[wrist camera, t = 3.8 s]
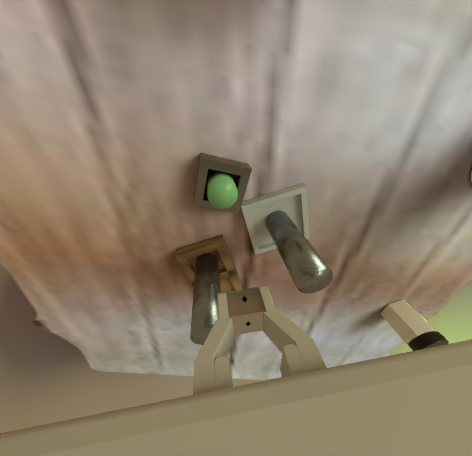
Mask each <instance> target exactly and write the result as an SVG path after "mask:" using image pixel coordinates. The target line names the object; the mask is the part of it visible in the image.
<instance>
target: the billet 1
mask: <svg viewBox="0 0 472 456" xmlns="http://www.w3.org/2000/svg"><path fill="white" fill-rule="evenodd" d="M218 293H221V284H220V272H219V261H218V258H217V257H216V256H215V255H214V254H211V253H204V254H201V255H200V256H198V257H197V259H196V263H195V277H194V292H193V307H192V322H191V336H190V338H191V340H192V341H193V342H194V343H196V344H201V345H203V344H204V342H205V341H206V339H207V337H208V335H209V333H210V331H211V329H212V327H213V326H214V324H215V322H216V320H219V311H218Z"/></svg>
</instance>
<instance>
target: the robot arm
mask: <svg viewBox="0 0 472 456" xmlns="http://www.w3.org/2000/svg"><path fill="white" fill-rule="evenodd" d="M471 182H472V171H471ZM218 311H219V320H216V322H215V324H214V326H213V327H212V329H211V331H210V333H209V335H208V337H207V339H206V341H205V342H204V344H203V346H202V348H201V350H200V352H199V354H198V355H197V357H196V359H195V363H194V385H193V395H190V396H185V397H180V398H175V399H170V400H165V401H160V402H155V403H150V404H145V405H140V406H135V407H130V408H125V409H120V410H114V411H109V412H104V413H100V414H95V415H89V416H84V417H79V418H75V419H69V420H64V421H60V422H54V423H49V424H44V425H39V426H34V427H29V428H24V429H19V430H14V431H9V432H4V433H0V456H472V340H467V341H462V342H457V343H452V344H447V345H442V346H437V347H431V348H426V349H421V350H416V351H412V352H406V353H401V354H396V355H391V356H386V357H381V358H376V359H371V360H366V361H361V362H356V363H351V364H346V365H341V366H336V367H331V368H326V366H325V364H324V361H323V359H322V357H321V355H320V353H319V351H318V349H317V346H316V344H315V342H314V340H313V339H312V338H311V337H310V336H309V335H307V334H306V333H305V332H304V331H303V330H302V329H300V328H299V327H298V326H297V325H296V324H295V323H293V322H292V321H291V320H290V319H289V318H288V317H286V316H285V315H284V314H283V313H282V312H281V311H279V310H276V309H275V306H274V303H273V300H272V298H271V295H270V292H269V289H268V287H267V286H261V287H254V288H248V289H242V290H237V291H230V292H223V293H218ZM256 331H263V332H264V333H265V334H266V335H267V336H268V337H269V339H270V340H271V341H272V342H273V343H274V344H275V346H276V347H277V348H278V349H279V350H280V351H281V353H282V360H281V366H280V371H281V374H282V377H280V378H275V379H270V380H265V381H260V382H255V383H251V384H245V385H241V386H235V387H233V384H232V376H231V371H230V365H229V360H228V358H227V355H228V353H229V350H230V347H231V344H232V342H233V339H234V335H239V334H244V333H249V332H256Z"/></svg>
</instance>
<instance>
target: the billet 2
mask: <svg viewBox="0 0 472 456" xmlns="http://www.w3.org/2000/svg"><path fill="white" fill-rule="evenodd" d="M265 226H266V228H267V230H268V232H269V234H270V236H271V238H272V240H273V242H274V243H275V245H276V247H277V249H278V251H279V253H280V255H281V257H282V259H283V261H284V263H285V265H286V267H287V269H288V271H289V273H290V275H291V277H292V279H293V281H294V283H295V285H296V287H297V289H298V290H299V291H300V292H302V293H314V292H317V291H320V290H322V289H323V288H325V287H326V286H327V285H328V284H329V283H330V282H331V280H332V278H333V274H332V271H331V270H330V269H329V268H328V266H327V265H326V264H325V262H324V261H323V260H322V259H321V257H320V256H319V255H318V253H317V252H316V251H315V249H314V248H313V247H312V246H311V244H310V243H309V242H308V240H307V239H306V238H305V237H304V235H303V234H302V233H301V231H300V230H299V229H298V227H297V226H296V225H295V224H294V222H293V221H292V220H291V218H290V217H289V216H288V215H287V213H286V212H284V211H274V212H272V213H270V214H269V215H268V216H267V218H266V220H265Z"/></svg>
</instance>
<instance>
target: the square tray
mask: <svg viewBox="0 0 472 456" xmlns="http://www.w3.org/2000/svg"><path fill="white" fill-rule="evenodd" d="M241 209H242V212H243V216H244V219H245V222H246V226H247V229H248V232H249V236H250V239H251V243H252V246H253V249H254V252H255V255H257V254H260V253H263V252H266V251H270V250H273V249H276V248H277V247H276V245H275V243H274V242H273V240H272V238H271V236H270V234H269V232H268V230H267V228H266V226H265V220H266V218H267V216H268V215H269V214H270V213H272V212H274V211H284V212H286V213H287V215H288V216H289V217H290V218H291V220H292V221H293V222H294V224H295V225H296V226H297V227H298V229H299V230H300V231H301V233H302V234H303V235H304V237H305V238H306V239H309V238H310V231H309V215H308V198H307V186H306V185H305V184H303V183H301V184H298V185H295V186H291V187H288V188H285V189H282V190H279V191H276V192H273V193H269V194H266V195H263V196H260V197H257V198H254V199H251V200H247V201H244V202H242V204H241Z"/></svg>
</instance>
